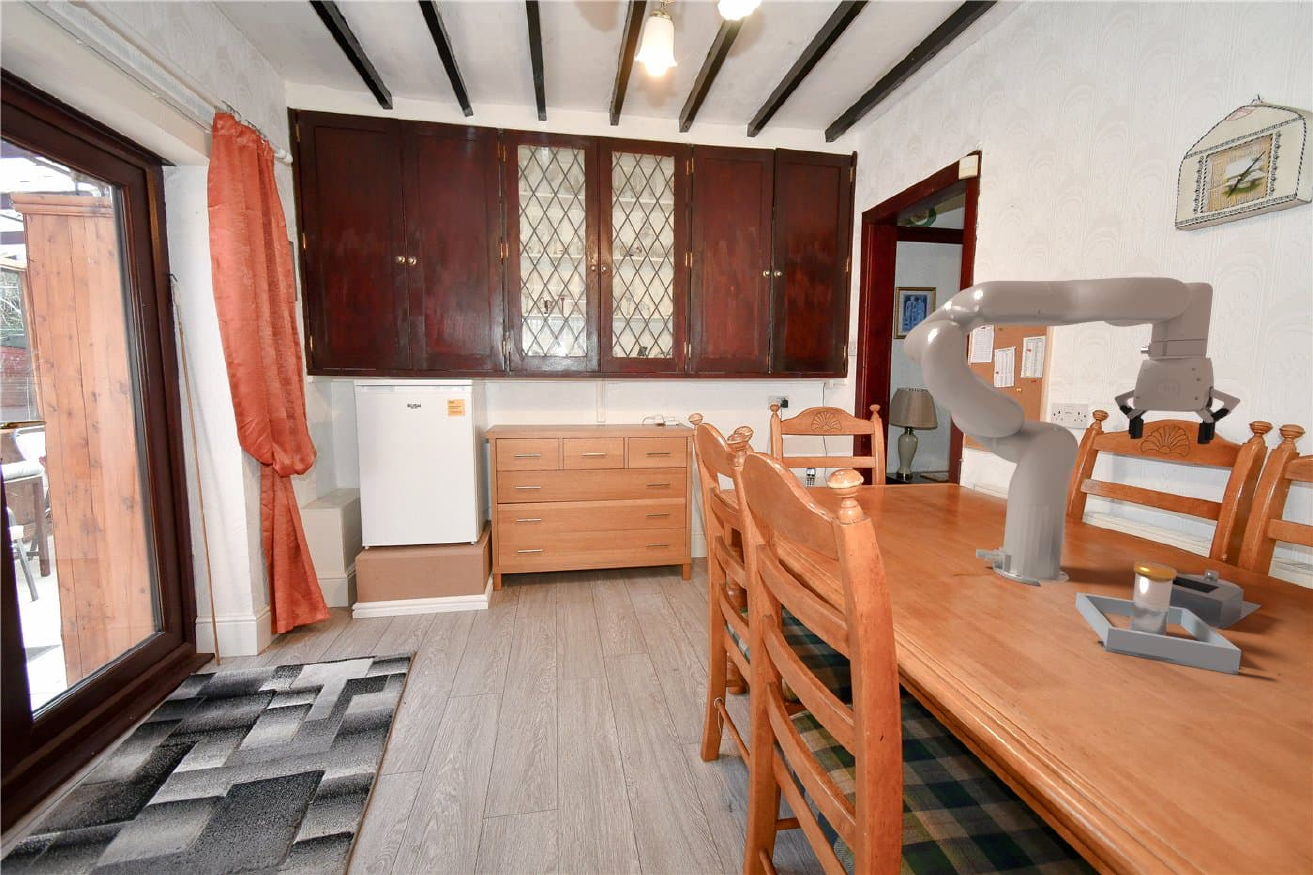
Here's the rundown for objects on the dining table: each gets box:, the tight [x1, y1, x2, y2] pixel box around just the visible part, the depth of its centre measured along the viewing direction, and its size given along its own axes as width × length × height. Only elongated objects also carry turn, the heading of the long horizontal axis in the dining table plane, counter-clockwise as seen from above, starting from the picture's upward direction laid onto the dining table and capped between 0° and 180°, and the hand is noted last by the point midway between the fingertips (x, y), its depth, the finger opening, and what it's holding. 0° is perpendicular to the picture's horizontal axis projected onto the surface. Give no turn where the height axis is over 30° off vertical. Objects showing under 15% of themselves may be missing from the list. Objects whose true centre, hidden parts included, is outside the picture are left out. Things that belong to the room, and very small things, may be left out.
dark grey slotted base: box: [1169, 569, 1262, 631], centre depth 88 cm, size 19×11×6 cm, turn 118°
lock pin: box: [1128, 560, 1178, 636], centre depth 77 cm, size 5×5×11 cm
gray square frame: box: [1074, 591, 1242, 676], centre depth 77 cm, size 14×14×4 cm
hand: (1168, 441), depth 97 cm, fingers open, 9 cm apart
